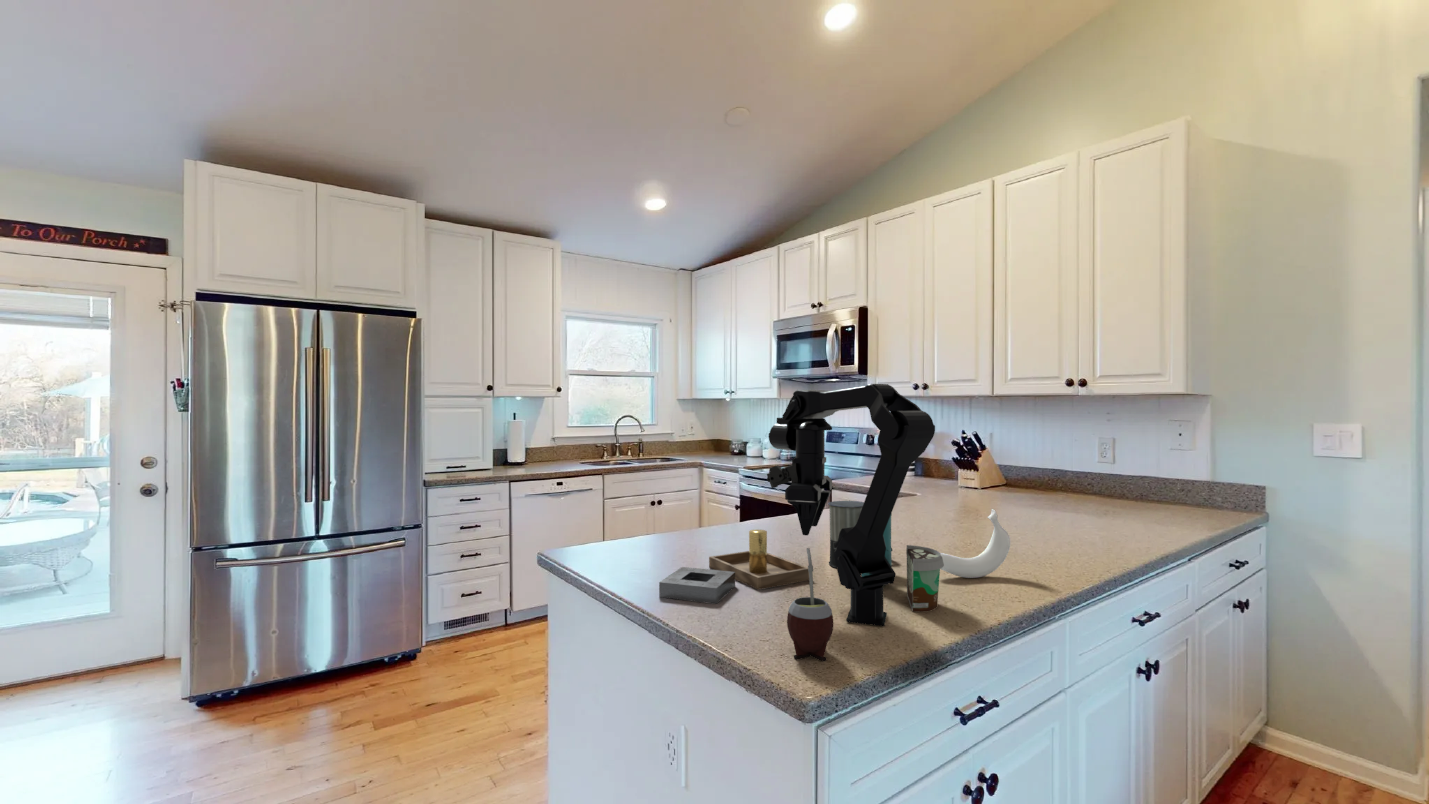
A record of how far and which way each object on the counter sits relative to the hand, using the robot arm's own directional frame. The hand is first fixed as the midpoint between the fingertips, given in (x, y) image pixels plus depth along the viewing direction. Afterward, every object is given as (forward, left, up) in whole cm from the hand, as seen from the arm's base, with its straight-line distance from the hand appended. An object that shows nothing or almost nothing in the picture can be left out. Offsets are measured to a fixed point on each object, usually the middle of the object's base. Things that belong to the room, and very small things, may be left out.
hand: (809, 530), depth 122 cm
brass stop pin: (+12, +14, -12) cm, 22 cm away
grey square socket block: (-5, +22, -13) cm, 26 cm away
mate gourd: (-28, -5, -13) cm, 31 cm away
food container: (+2, -22, -13) cm, 26 cm away
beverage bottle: (+11, -12, -13) cm, 21 cm away
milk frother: (+29, -7, -13) cm, 33 cm away
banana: (+25, -31, -13) cm, 42 cm away
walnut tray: (+12, +14, -13) cm, 23 cm away
